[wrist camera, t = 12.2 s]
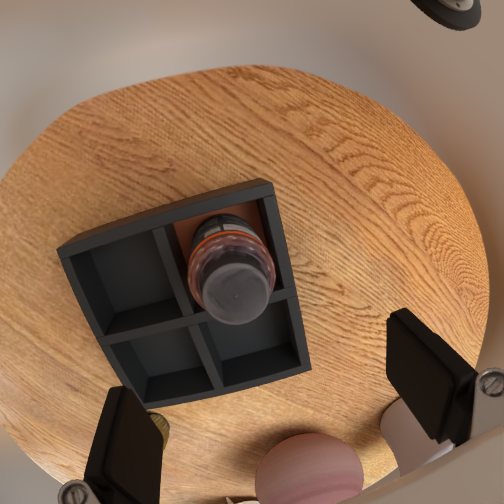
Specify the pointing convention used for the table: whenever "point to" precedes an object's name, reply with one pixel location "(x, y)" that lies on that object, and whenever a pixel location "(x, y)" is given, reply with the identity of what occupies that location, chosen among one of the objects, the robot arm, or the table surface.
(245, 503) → the alarm clock
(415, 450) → the soap bottle
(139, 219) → the compartment organizer
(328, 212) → the table surface
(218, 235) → the supplement bottle
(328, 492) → the pink round ball
